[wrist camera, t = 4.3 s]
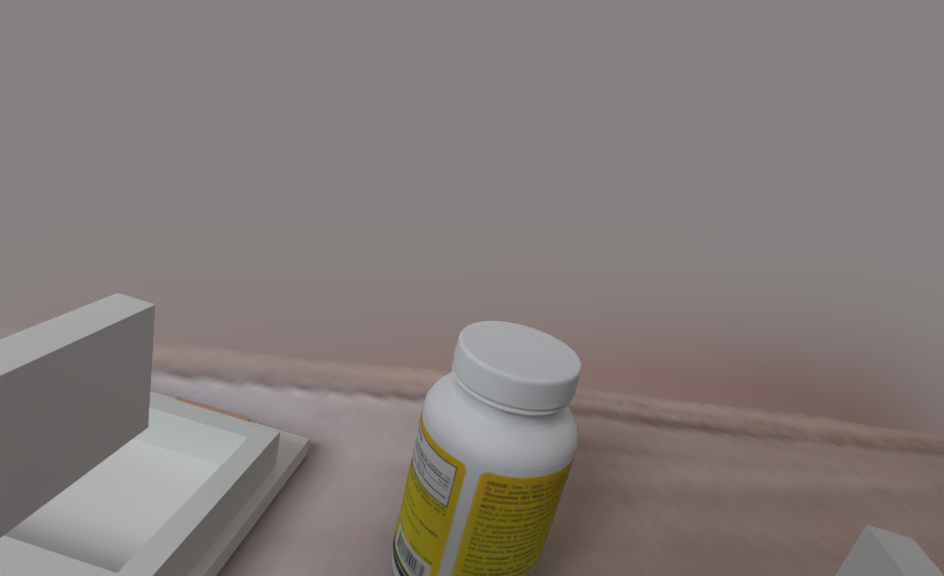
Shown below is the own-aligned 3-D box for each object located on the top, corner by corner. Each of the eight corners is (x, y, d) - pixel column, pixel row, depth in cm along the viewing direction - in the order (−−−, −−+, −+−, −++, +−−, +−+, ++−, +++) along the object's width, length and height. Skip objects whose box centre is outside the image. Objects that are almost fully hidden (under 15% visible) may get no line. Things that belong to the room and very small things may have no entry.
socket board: (307, 454, 28) (314, 406, 27) (135, 683, 17) (137, 615, 16) (-35, 350, 30) (-40, 301, 29) (-399, 497, 18) (-430, 424, 17)
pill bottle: (540, 549, 26) (612, 346, 22) (505, 665, 20) (593, 418, 16) (424, 496, 27) (472, 298, 24) (360, 590, 22) (411, 349, 18)
